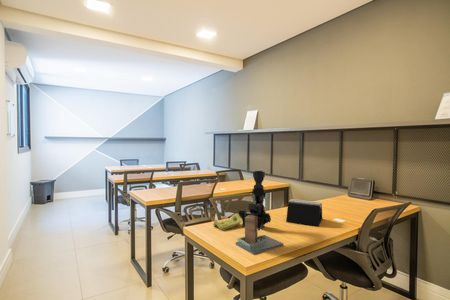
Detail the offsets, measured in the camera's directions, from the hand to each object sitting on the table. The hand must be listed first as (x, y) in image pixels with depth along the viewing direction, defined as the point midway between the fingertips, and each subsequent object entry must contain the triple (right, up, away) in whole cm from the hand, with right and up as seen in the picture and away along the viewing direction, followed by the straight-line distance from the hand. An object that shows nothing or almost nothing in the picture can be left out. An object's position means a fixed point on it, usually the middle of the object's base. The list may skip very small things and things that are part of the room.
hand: (250, 228), depth 143 cm
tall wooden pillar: (0, -8, +1) cm, 8 cm away
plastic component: (-12, -9, +34) cm, 37 cm away
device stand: (+46, -9, +48) cm, 67 cm away
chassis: (+5, -9, +1) cm, 11 cm away
